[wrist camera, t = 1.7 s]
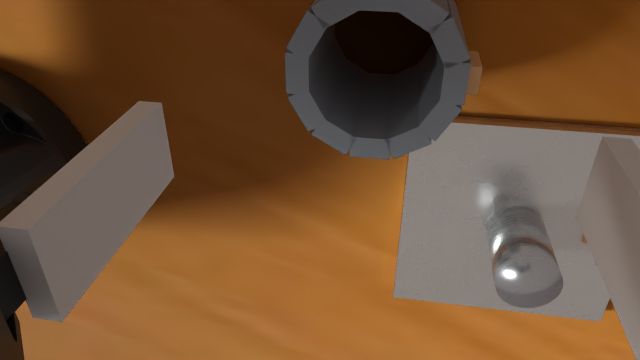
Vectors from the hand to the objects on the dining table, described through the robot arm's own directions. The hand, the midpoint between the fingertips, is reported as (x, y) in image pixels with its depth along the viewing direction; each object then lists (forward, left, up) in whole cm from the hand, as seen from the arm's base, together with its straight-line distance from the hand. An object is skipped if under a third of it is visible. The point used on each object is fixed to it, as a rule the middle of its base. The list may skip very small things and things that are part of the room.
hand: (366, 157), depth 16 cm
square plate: (+9, -12, -15) cm, 21 cm away
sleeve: (0, 0, -15) cm, 15 cm away
